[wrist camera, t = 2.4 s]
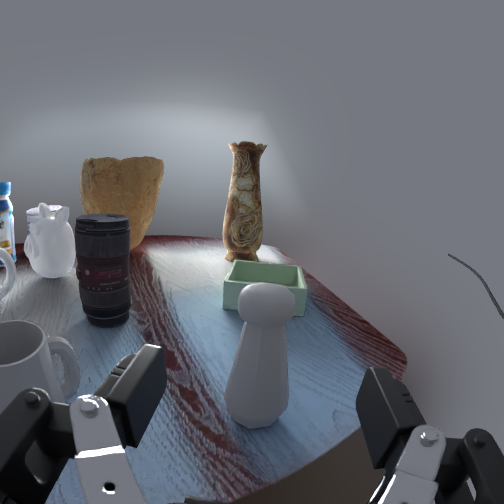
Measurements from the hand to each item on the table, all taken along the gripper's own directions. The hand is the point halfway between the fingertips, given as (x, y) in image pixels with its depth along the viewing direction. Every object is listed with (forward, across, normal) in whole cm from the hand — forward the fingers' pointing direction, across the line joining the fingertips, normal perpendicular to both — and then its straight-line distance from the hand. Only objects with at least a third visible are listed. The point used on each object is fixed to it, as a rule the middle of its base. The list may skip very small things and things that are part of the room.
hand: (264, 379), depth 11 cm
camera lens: (+26, +22, +14) cm, 37 cm away
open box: (+41, 0, +13) cm, 43 cm away
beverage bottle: (+38, +64, +14) cm, 76 cm away
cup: (+4, +18, +14) cm, 23 cm away
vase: (+66, +7, +13) cm, 68 cm away
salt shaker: (+11, 0, +14) cm, 18 cm away
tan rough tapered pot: (+60, +39, +13) cm, 73 cm away
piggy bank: (+36, +43, +14) cm, 58 cm away
